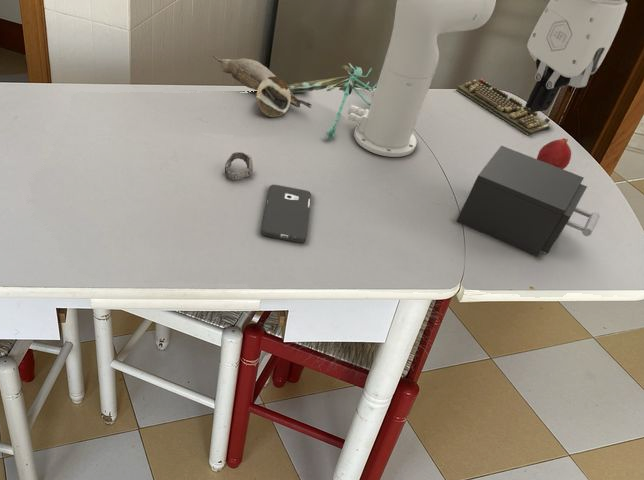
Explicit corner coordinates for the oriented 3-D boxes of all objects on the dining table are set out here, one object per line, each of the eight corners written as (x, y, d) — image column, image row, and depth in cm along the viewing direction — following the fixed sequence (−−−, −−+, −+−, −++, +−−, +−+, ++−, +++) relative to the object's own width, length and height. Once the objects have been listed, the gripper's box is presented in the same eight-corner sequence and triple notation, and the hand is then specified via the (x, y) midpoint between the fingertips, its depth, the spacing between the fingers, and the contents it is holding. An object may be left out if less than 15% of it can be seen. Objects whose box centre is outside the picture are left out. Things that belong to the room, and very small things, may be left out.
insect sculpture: (265, 140, 143) (296, 72, 162) (360, 155, 139) (381, 83, 157) (267, 114, 139) (299, 47, 157) (365, 128, 134) (386, 57, 152)
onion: (528, 175, 136) (547, 139, 130) (532, 162, 140) (551, 126, 134) (558, 185, 135) (579, 149, 129) (561, 171, 138) (582, 135, 132)
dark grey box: (556, 222, 126) (584, 177, 119) (537, 257, 119) (565, 210, 112) (479, 190, 131) (501, 145, 124) (456, 221, 124) (478, 175, 117)
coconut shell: (290, 117, 145) (273, 113, 150) (295, 78, 141) (278, 75, 147) (258, 117, 141) (242, 113, 146) (262, 76, 138) (246, 74, 143)
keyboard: (454, 89, 159) (457, 80, 157) (481, 82, 162) (484, 73, 161) (527, 136, 147) (531, 127, 145) (554, 127, 150) (559, 119, 149)
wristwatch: (234, 159, 131) (258, 167, 129) (220, 180, 128) (244, 188, 127) (235, 144, 128) (259, 152, 127) (220, 165, 125) (245, 173, 124)
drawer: (588, 232, 123) (612, 196, 117) (571, 264, 117) (596, 227, 111) (492, 192, 129) (511, 156, 123) (471, 221, 123) (490, 184, 117)
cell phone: (306, 239, 115) (305, 244, 116) (312, 190, 125) (310, 195, 126) (261, 230, 116) (260, 235, 116) (270, 182, 125) (269, 187, 126)
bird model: (224, 41, 156) (221, 64, 159) (206, 46, 152) (204, 69, 156) (324, 85, 142) (319, 109, 145) (307, 92, 139) (302, 115, 142)
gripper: (542, -39, 94) (485, 86, 108) (622, 7, 86) (550, 138, 99) (583, -42, 97) (523, 82, 110) (665, 3, 88) (589, 131, 102)
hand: (536, 108), depth 105 cm, fingers closed
